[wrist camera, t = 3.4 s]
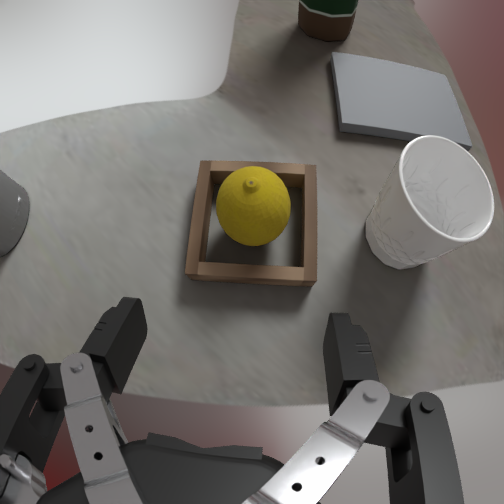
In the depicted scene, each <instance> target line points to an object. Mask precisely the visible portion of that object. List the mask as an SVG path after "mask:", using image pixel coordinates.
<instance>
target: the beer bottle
mask: <svg viewBox="0 0 504 504" xmlns="http://www.w3.org/2000/svg"><path fill="white" fill-rule="evenodd" d="M357 3H358V0H299V12H298V24H299V26H300V27H301V28H302V29H303V31H304V32H305V33H306V34H307V35H308V36H310V37H314V38H317V39H320V40H324V41H327V42H329V41H338V40H345V39H346V38H347V36H348V34H349V33H350V31H351V28H352V25H353V22H354V18H355V13H356V8H357Z"/></svg>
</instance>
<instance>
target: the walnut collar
mask: <svg viewBox="0 0 504 504" xmlns="http://www.w3.org/2000/svg"><path fill="white" fill-rule="evenodd" d="M249 166H257V167H263V168H266V169H268V170H270V171H272V172H273V173H275V174H276V175H277V176H278V177H279V178H280V179H281V180H282V181H283V183H284V185H285V187H297V188H302V224H301V267H288V266H268V265H250V264H232V263H214V262H205V260H206V251H207V242H208V233H209V224H210V216H211V207H212V199H213V191H214V184H222V183H223V182H224V180H225V179H226V178H227V177H228V176H229V175H230V174H231V173H233V172H234V171H236V170H238V169H241V168H244V167H249ZM185 274H186V275H187V276H188V277H189V278H190V279H191V280H201V281H216V282H232V283H248V284H266V285H285V286H307V287H312V286H313V285H314V284H315V282H316V281H317V177H316V165H308V164H292V163H274V162H249V161H200V167H199V173H198V179H197V186H196V192H195V199H194V206H193V213H192V220H191V227H190V235H189V243H188V251H187V259H186V267H185Z"/></svg>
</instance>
